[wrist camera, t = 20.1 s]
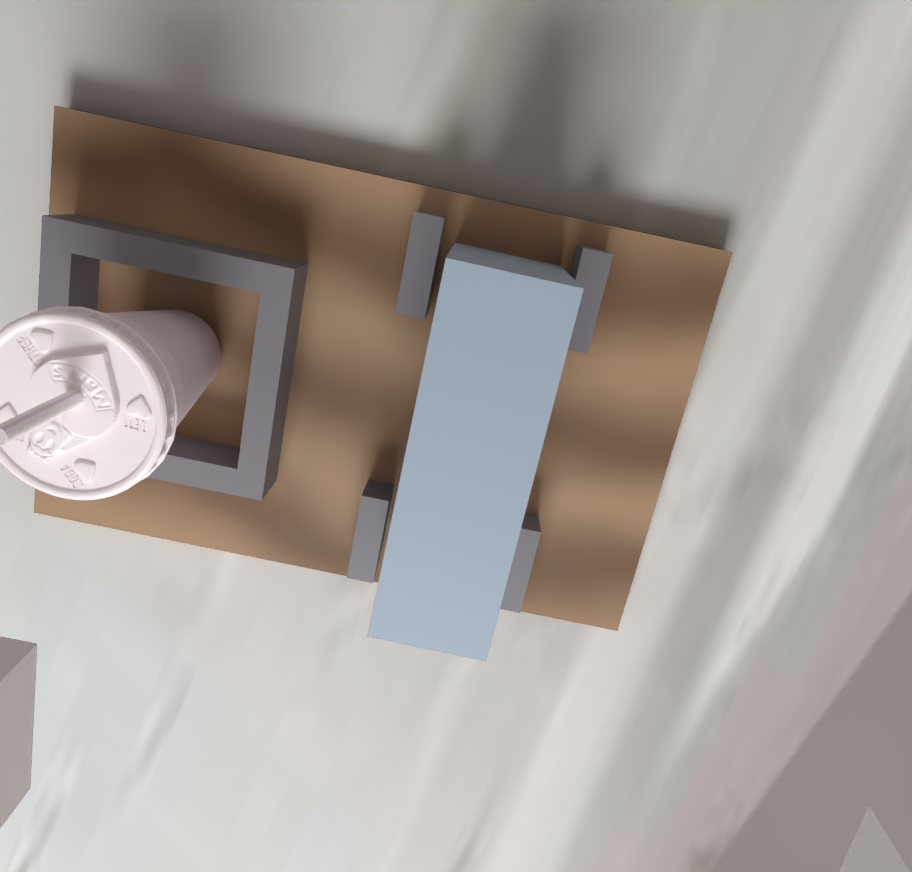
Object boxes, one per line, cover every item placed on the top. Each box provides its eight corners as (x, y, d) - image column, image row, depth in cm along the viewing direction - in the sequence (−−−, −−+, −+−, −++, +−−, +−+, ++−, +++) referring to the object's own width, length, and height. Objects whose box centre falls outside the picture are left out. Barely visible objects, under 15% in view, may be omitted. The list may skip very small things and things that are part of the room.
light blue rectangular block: (486, 564, 37) (486, 661, 29) (391, 544, 37) (367, 636, 29) (561, 266, 33) (583, 288, 25) (455, 242, 33) (445, 257, 25)
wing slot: (418, 210, 33) (413, 211, 31) (606, 250, 33) (613, 254, 31) (353, 557, 37) (346, 577, 35) (518, 591, 37) (520, 612, 36)
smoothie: (280, 339, 34) (151, 434, 21) (201, 450, 36) (33, 603, 23) (154, 245, 33) (-66, 282, 20) (78, 363, 35) (-172, 470, 22)
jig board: (69, 108, 33) (54, 105, 32) (724, 250, 34) (732, 252, 33) (47, 502, 38) (33, 512, 37) (613, 617, 39) (617, 630, 38)
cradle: (74, 213, 33) (42, 215, 31) (308, 263, 33) (294, 269, 31) (60, 436, 36) (31, 453, 34) (276, 480, 36) (261, 500, 34)
